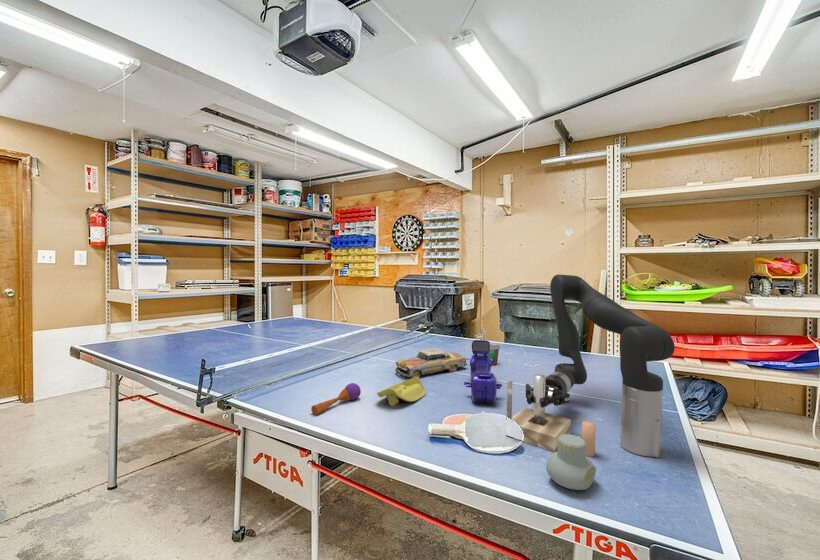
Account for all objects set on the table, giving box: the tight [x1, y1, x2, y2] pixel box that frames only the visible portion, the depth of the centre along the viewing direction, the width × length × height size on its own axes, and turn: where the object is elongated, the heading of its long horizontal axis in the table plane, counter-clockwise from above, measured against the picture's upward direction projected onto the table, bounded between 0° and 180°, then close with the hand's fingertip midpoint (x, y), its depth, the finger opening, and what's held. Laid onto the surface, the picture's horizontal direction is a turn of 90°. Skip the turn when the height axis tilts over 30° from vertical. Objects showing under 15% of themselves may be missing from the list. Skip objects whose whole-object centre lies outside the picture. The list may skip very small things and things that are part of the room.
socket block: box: [506, 380, 572, 453], centre depth 106 cm, size 14×14×16 cm
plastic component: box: [376, 377, 427, 406], centre depth 133 cm, size 20×7×10 cm
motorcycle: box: [463, 339, 503, 404], centre depth 143 cm, size 35×14×18 cm, turn 172°
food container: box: [477, 344, 501, 366], centre depth 178 cm, size 12×6×10 cm, turn 47°
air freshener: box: [545, 433, 597, 491], centre depth 84 cm, size 11×8×10 cm
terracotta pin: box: [581, 420, 597, 458], centre depth 96 cm, size 3×3×8 cm
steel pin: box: [532, 373, 547, 426], centre depth 106 cm, size 3×3×16 cm
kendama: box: [310, 382, 361, 416], centre depth 127 cm, size 6×6×20 cm
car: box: [394, 348, 468, 378], centre depth 166 cm, size 12×34×10 cm, turn 121°
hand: (535, 402), depth 104 cm, fingers closed on steel pin, 3 cm apart
